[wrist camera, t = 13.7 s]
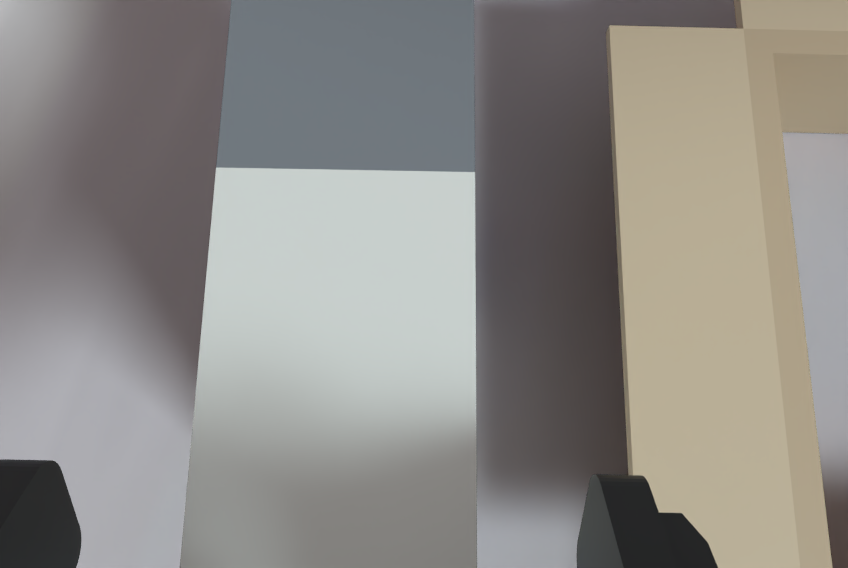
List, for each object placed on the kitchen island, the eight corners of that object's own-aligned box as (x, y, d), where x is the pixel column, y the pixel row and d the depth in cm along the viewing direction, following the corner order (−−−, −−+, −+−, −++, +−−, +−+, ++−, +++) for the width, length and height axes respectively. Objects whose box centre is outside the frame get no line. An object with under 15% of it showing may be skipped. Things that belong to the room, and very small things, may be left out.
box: (445, 202, 25) (473, -26, 13) (443, 532, 22) (477, 605, 11) (317, 199, 25) (234, -31, 13) (299, 530, 22) (176, 602, 11)
